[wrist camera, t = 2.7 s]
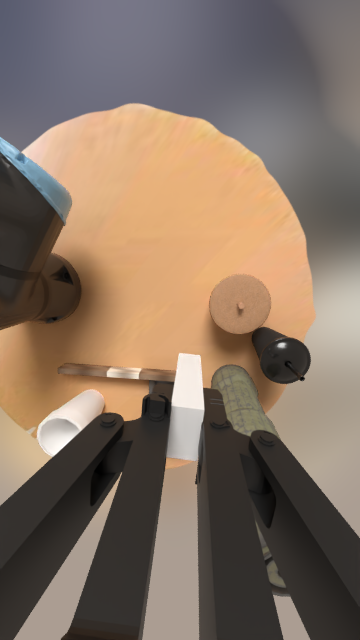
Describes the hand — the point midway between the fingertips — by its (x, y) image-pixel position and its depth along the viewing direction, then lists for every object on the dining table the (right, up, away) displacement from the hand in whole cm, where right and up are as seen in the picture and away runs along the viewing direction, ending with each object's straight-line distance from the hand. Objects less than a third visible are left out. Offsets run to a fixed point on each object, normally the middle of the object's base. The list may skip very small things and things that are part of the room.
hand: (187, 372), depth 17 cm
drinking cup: (+17, 0, +34) cm, 38 cm away
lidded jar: (+11, +8, +33) cm, 36 cm away
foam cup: (-21, -16, +41) cm, 48 cm away
